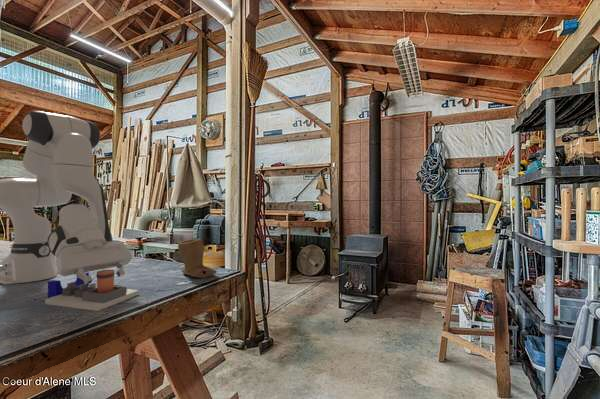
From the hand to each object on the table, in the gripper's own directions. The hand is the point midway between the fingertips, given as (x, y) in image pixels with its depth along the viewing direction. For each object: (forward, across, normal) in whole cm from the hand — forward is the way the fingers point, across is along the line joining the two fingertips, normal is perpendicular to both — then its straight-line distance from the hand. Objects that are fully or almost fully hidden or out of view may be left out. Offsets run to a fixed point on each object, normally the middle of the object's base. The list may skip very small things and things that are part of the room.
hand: (106, 278), depth 94 cm
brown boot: (+3, -37, -8) cm, 37 cm away
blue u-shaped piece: (-8, +2, -19) cm, 21 cm away
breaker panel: (0, 0, -10) cm, 10 cm away
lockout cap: (+4, 0, -5) cm, 6 cm away
